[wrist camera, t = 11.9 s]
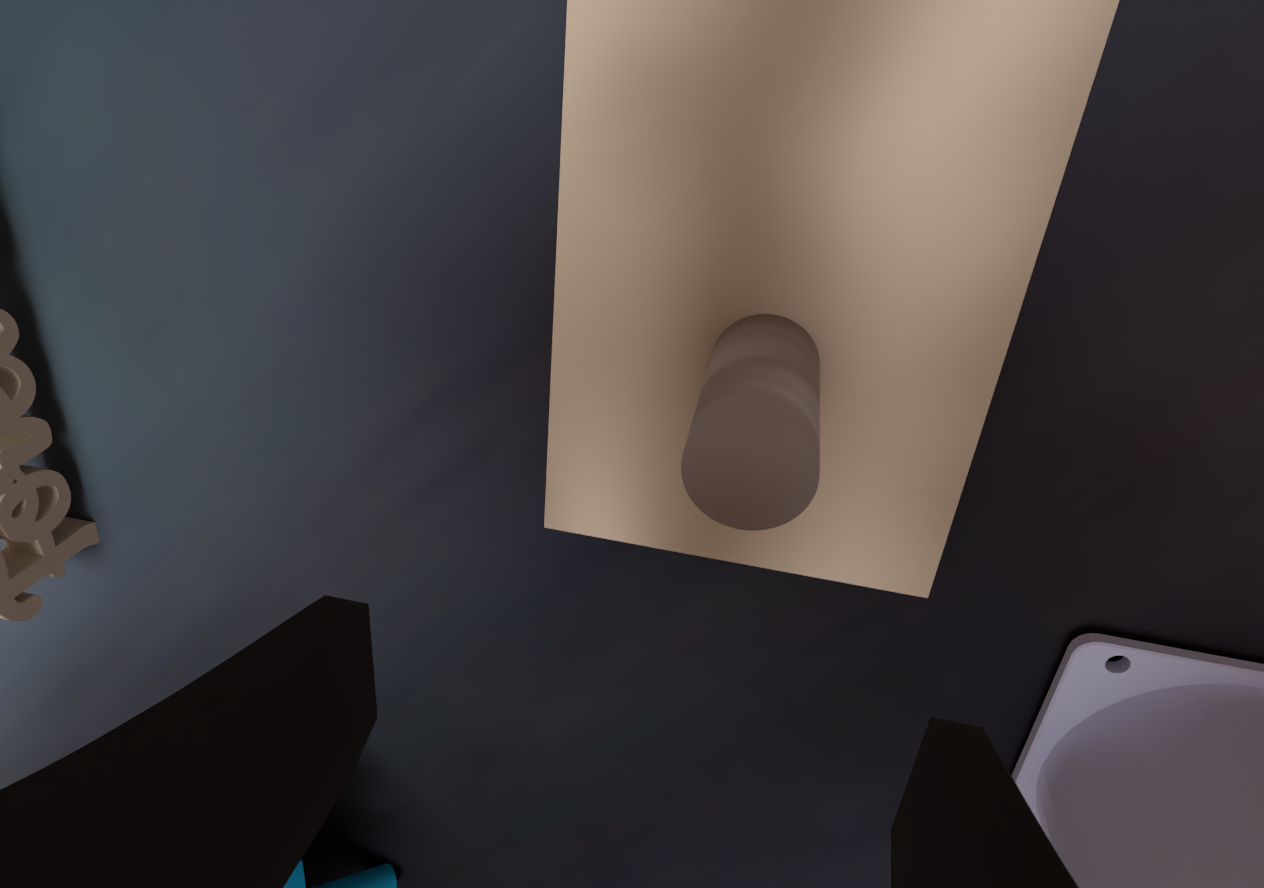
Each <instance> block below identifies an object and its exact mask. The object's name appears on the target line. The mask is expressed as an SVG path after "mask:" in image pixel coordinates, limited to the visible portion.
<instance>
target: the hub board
mask: <svg viewBox="0 0 1264 888" xmlns="http://www.w3.org/2000/svg"><path fill="white" fill-rule="evenodd" d="M1118 3H1119V0H567V20H566V42H565V65H564V88H563V110H562V133H561V156H560V178H559V201H558V224H557V247H556V269H555V292H554V315H553V337H552V360H551V383H550V405H549V428H548V451H547V474H546V496H545V519H544V527H545V528H550V529H555V530H561V531H566V532H572V533H577V534H583V535H588V536H593V537H599V538H604V539H610V540H615V541H620V542H626V543H631V544H637V545H642V546H648V547H653V548H658V549H664V550H669V551H675V552H680V553H686V554H691V555H696V556H702V557H707V558H713V559H718V560H723V561H729V562H734V563H740V564H745V565H751V566H756V567H761V568H767V569H772V570H778V571H783V572H789V573H794V574H799V575H805V576H810V577H816V578H821V579H826V580H832V581H837V582H843V583H848V584H854V585H859V586H864V587H870V588H875V589H881V590H886V591H891V592H897V593H902V594H908V595H913V596H919V597H924V598H928V596H929V593H930V590H931V586H932V583H933V580H934V577H935V574H936V571H937V568H938V565H939V562H940V558H941V555H942V552H943V549H944V546H945V543H946V540H947V537H948V533H949V530H950V527H951V524H952V521H953V518H954V515H955V512H956V508H957V505H958V502H959V499H960V496H961V493H962V490H963V487H964V484H965V480H966V477H967V474H968V471H969V468H970V465H971V462H972V459H973V455H974V452H975V449H976V446H977V443H978V440H979V437H980V434H981V430H982V427H983V424H984V421H985V418H986V415H987V412H988V409H989V405H990V402H991V399H992V396H993V393H994V390H995V387H996V384H997V381H998V377H999V374H1000V371H1001V368H1002V365H1003V362H1004V359H1005V356H1006V352H1007V349H1008V346H1009V343H1010V340H1011V337H1012V334H1013V331H1014V327H1015V324H1016V321H1017V318H1018V315H1019V312H1020V309H1021V306H1022V303H1023V299H1024V296H1025V293H1026V290H1027V287H1028V284H1029V281H1030V278H1031V274H1032V271H1033V268H1034V265H1035V262H1036V259H1037V256H1038V253H1039V249H1040V246H1041V243H1042V240H1043V237H1044V234H1045V231H1046V228H1047V225H1048V221H1049V218H1050V215H1051V212H1052V209H1053V206H1054V203H1055V200H1056V196H1057V193H1058V190H1059V187H1060V184H1061V181H1062V178H1063V175H1064V171H1065V168H1066V165H1067V162H1068V159H1069V156H1070V153H1071V150H1072V147H1073V143H1074V140H1075V137H1076V134H1077V131H1078V128H1079V125H1080V122H1081V118H1082V115H1083V112H1084V109H1085V106H1086V103H1087V100H1088V97H1089V93H1090V90H1091V87H1092V84H1093V81H1094V78H1095V75H1096V72H1097V69H1098V65H1099V62H1100V59H1101V56H1102V53H1103V50H1104V47H1105V44H1106V40H1107V37H1108V34H1109V31H1110V28H1111V25H1112V22H1113V19H1114V15H1115V12H1116V9H1117V6H1118Z"/></svg>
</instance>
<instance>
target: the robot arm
mask: <svg viewBox="0 0 1264 888" xmlns="http://www.w3.org/2000/svg"><path fill="white" fill-rule="evenodd" d="M1113 656H1124V657H1123V658H1122V659H1120V660H1118V661H1115V662H1108V661H1107V660H1108V659H1109V658H1111V657H1113ZM376 719H377V706H376V694H375V681H374V668H373V656H372V643H371V631H370V618H369V606H368V604H365V603H361V602H356V601H351V600H346V599H341V598H336V597H331V596H326V595H325V596H323V597H322V598H320V599H319V600H317V601H315V602H314V603H312V604H311V605H309V606H308V607H306V608H305V609H303V610H301V611H300V612H298V613H297V614H295V615H294V616H292V617H291V618H289V619H288V620H286V621H285V622H283V623H282V624H280V625H279V626H277V627H276V628H274V629H273V630H271V631H270V632H268V633H267V634H265V635H264V636H262V637H261V638H259V639H258V640H256V641H255V642H253V643H252V644H250V645H249V646H247V647H246V648H244V649H243V650H241V651H239V652H238V653H236V654H235V655H233V656H232V657H230V658H229V659H227V660H226V661H224V662H223V663H221V664H219V665H218V666H216V667H215V668H213V669H212V670H210V671H209V672H207V673H205V674H204V675H202V676H201V677H199V678H198V679H196V680H194V681H193V682H191V683H190V684H188V685H187V686H185V687H184V688H182V689H180V690H179V691H177V692H176V693H174V694H172V695H171V696H169V697H167V698H166V699H164V700H162V701H161V702H159V703H157V704H155V705H154V706H152V707H150V708H149V709H147V710H145V711H144V712H142V713H140V714H139V715H137V716H135V717H133V718H132V719H130V720H128V721H127V722H125V723H123V724H122V725H120V726H118V727H116V728H115V729H113V730H111V731H110V732H108V733H106V734H105V735H103V736H101V737H99V738H98V739H96V740H94V741H93V742H91V743H89V744H87V745H86V746H84V747H82V748H80V749H78V750H77V751H75V752H73V753H71V754H69V755H67V756H66V757H64V758H62V759H60V760H58V761H56V762H54V763H52V764H50V765H49V766H47V767H45V768H43V769H41V770H39V771H37V772H35V773H33V774H31V775H29V776H27V777H25V778H23V779H21V780H19V781H17V782H15V783H13V784H11V785H9V786H7V787H5V788H3V789H1V790H0V888H283V887H284V886H285V884H286V883H287V881H288V879H289V878H290V876H291V875H292V873H293V871H294V870H295V868H296V867H297V865H298V863H299V862H300V860H301V859H302V857H303V855H304V854H305V852H306V851H307V849H308V847H309V846H310V844H311V842H312V841H313V839H314V838H315V836H316V834H317V833H318V831H319V829H320V828H321V826H322V825H323V823H324V821H325V820H326V818H327V816H328V815H329V813H330V811H331V810H332V808H333V807H334V805H335V803H336V802H337V800H338V798H339V797H340V795H341V793H342V792H343V790H344V788H345V786H346V784H347V782H348V780H349V778H350V776H351V773H352V771H353V769H354V767H355V765H356V763H357V761H358V759H359V757H360V755H361V752H362V750H363V748H364V746H365V744H366V741H367V739H368V737H369V735H370V732H371V730H372V728H373V726H374V723H375V721H376ZM891 888H1264V664H1260V663H1255V662H1250V661H1244V660H1239V659H1233V658H1228V657H1222V656H1217V655H1212V654H1206V653H1201V652H1195V651H1190V650H1185V649H1179V648H1174V647H1168V646H1163V645H1158V644H1152V643H1147V642H1141V641H1136V640H1131V639H1125V638H1120V637H1114V636H1109V635H1104V634H1098V633H1087V634H1083V635H1080V636H1078V637H1076V638H1075V639H1073V640H1072V641H1071V643H1070V644H1069V645H1068V647H1067V650H1066V652H1065V654H1064V656H1063V659H1062V661H1061V663H1060V666H1059V668H1058V670H1057V673H1056V675H1055V677H1054V679H1053V682H1052V684H1051V686H1050V689H1049V691H1048V693H1047V695H1046V698H1045V700H1044V702H1043V705H1042V707H1041V709H1040V712H1039V714H1038V716H1037V718H1036V721H1035V723H1034V725H1033V728H1032V730H1031V732H1030V735H1029V737H1028V739H1027V741H1026V744H1025V746H1024V748H1023V751H1022V753H1021V755H1020V757H1019V760H1018V762H1017V764H1016V767H1015V769H1014V771H1013V774H1012V776H1011V774H1010V772H1009V771H1008V769H1007V767H1006V765H1005V764H1004V762H1003V760H1002V758H1001V756H1000V755H999V753H998V751H997V749H996V748H995V746H994V744H993V742H992V741H991V739H990V737H989V736H988V734H987V733H986V731H985V730H984V729H983V728H981V727H976V726H971V725H966V724H961V723H956V722H951V721H946V720H941V719H936V718H930V721H929V724H928V727H927V729H926V732H925V735H924V738H923V741H922V744H921V746H920V749H919V752H918V755H917V758H916V761H915V763H914V766H913V769H912V772H911V775H910V778H909V780H908V783H907V786H906V789H905V792H904V795H903V797H902V800H901V803H900V806H899V809H898V812H897V814H896V817H895V820H894V823H893V826H892V829H891Z"/></svg>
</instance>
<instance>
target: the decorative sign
mask: <svg viewBox="0 0 1264 888" xmlns="http://www.w3.org/2000/svg"><path fill="white" fill-rule="evenodd" d="M18 338H19V330H18V326H17V324H16V322H15V320H14V319H13V317H12V316H11V315H10V314H9V313H7V312H6V311H4V310H2V309H0V538H1V539H2V541H3V543H4V546H5V549H4V550H3V551H1V549H0V618H1V619H6V620H11V621H25V620H28V619H30V618H32V617H33V616H34V615H36V614H37V613H38V611H39V610H40V609H41V607H42V602H43V601H42V598H41V597H40V596H38V595H34V594H29V593H24V591H25V590H27V589H28V588H29V587H31V586H32V585H33V584H35V583H36V582H37V581H39V580H40V579H41V578H43V577H44V576H48V577H53V578H61V577H62V576H63V575H64V573H65V567H64V566H63V564H62V563H63V562H65V561H66V560H67V559H69V558H70V557H72V556H73V555H75V554H76V553H78V552H79V551H81V550H82V549H84V548H86V547H87V546H90V545H94V544H97V543H99V542H100V539H99V535H98V531H97V528H96V524H95V522H90V521H85V520H80V519H74V518H69V517H65V515H66V514H67V512H68V510H69V507H70V503H71V492H70V489H69V486H68V484H67V482H66V480H65V478H64V477H63V476H62V475H61V474H59V473H58V472H56V471H53V470H47V469H42V468H36V467H31V466H25V465H22V464H23V463H25V462H27V461H29V460H30V459H32V458H34V457H35V456H37V455H38V454H40V453H41V452H43V451H44V450H45V449H47V448H48V447H49V446H50V445H51V443H52V434H51V429H50V427H49V424H48V423H47V422H46V421H45V420H43V419H40V418H36V417H31V416H25V415H24V414H25V413H26V412H27V411H28V409H29V408H30V406H31V405H32V403H33V401H34V398H35V394H36V383H35V379H34V377H33V374H32V372H31V371H30V369H29V367H28V366H27V365H26V364H25V363H23V362H22V361H21V360H19V359H17V358H15V357H13V356H10V355H9V354H10V353H11V351H12V350H13V348H14V347H15V345H16V343H17V341H18Z"/></svg>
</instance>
